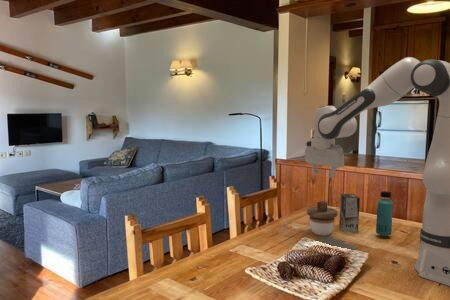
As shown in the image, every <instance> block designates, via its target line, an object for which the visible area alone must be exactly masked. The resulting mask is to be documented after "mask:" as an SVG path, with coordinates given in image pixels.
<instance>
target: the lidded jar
mask: <svg viewBox="0 0 450 300" xmlns="http://www.w3.org/2000/svg"><path fill="white" fill-rule="evenodd" d="M308 219H309V227H310V230H311V232H312V233H313V234H314V235H317V236H321V237H322V236H324V237H325V236H326V237H327V236H328V235H330V234H332V232H333V231H334V228H335V217H334V218H329V219H321V218H315V217H311V216H309V218H308Z"/></svg>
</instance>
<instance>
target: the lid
mask: <svg viewBox="0 0 450 300" xmlns="http://www.w3.org/2000/svg"><path fill="white" fill-rule="evenodd" d="M306 214H307V215H308V216H309V217H310V216H311V217H315V218H321V219H329V218H334V219H335V218H336V217H338V215H339V214H338V210H337V209H334V208H332V207H328V202H326V201H323V200H321V201H317V206H313V207H309V208H307V210H306Z"/></svg>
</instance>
